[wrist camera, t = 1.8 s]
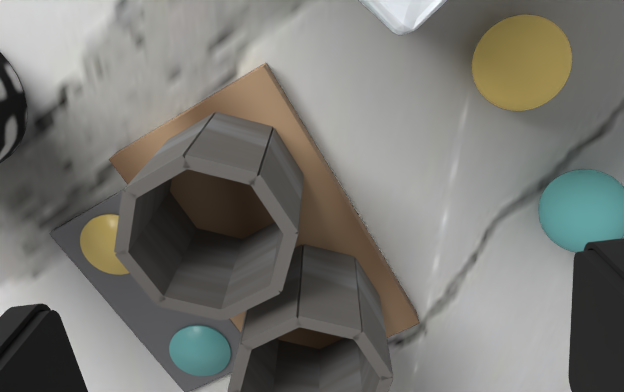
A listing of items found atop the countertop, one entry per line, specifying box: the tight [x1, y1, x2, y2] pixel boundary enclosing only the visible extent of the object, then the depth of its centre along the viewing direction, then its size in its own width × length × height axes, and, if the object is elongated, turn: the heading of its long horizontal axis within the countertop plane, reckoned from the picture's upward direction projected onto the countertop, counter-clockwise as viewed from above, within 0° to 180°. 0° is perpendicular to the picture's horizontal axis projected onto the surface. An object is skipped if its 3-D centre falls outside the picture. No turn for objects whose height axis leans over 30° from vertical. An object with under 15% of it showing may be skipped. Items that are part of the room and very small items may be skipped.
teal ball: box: [538, 169, 624, 252], centre depth 29 cm, size 4×4×4 cm
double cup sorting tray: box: [109, 63, 419, 392], centre depth 29 cm, size 10×18×8 cm, turn 30°
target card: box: [50, 190, 241, 392], centre depth 34 cm, size 6×14×1 cm, turn 30°
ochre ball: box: [472, 15, 572, 111], centre depth 26 cm, size 4×4×4 cm
